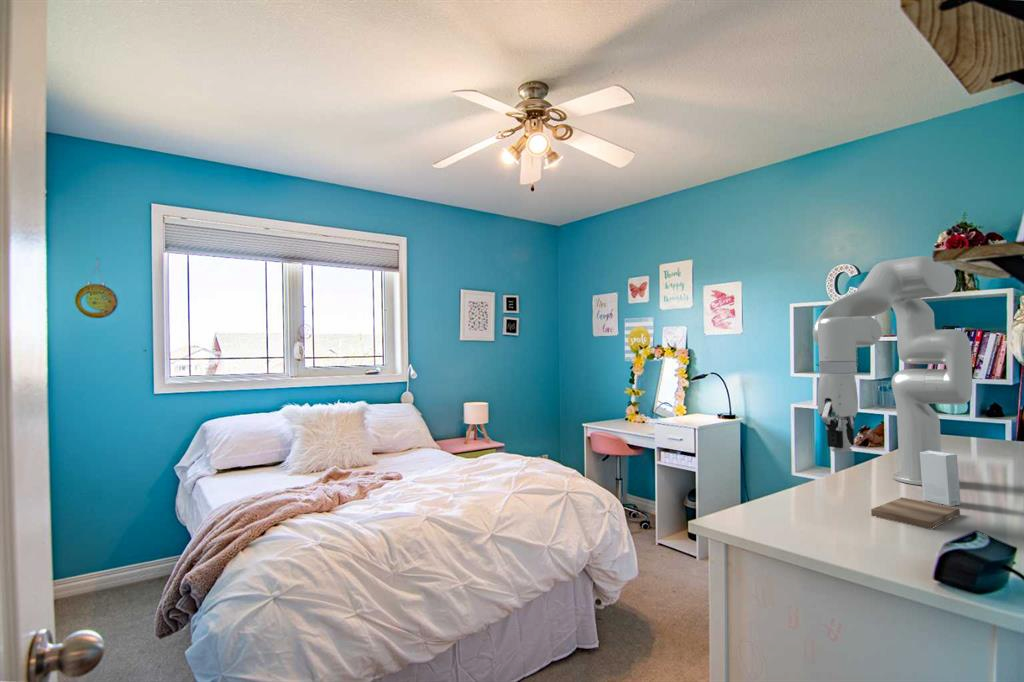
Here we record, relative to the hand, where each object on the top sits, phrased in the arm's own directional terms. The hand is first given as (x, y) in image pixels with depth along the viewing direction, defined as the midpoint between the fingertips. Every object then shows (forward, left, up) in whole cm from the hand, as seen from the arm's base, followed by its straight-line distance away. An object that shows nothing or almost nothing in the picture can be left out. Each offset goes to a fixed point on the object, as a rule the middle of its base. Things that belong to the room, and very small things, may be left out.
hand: (840, 445), depth 122 cm
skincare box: (-24, +11, -15) cm, 30 cm away
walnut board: (-8, +12, -15) cm, 21 cm away
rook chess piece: (0, 0, -2) cm, 2 cm away
